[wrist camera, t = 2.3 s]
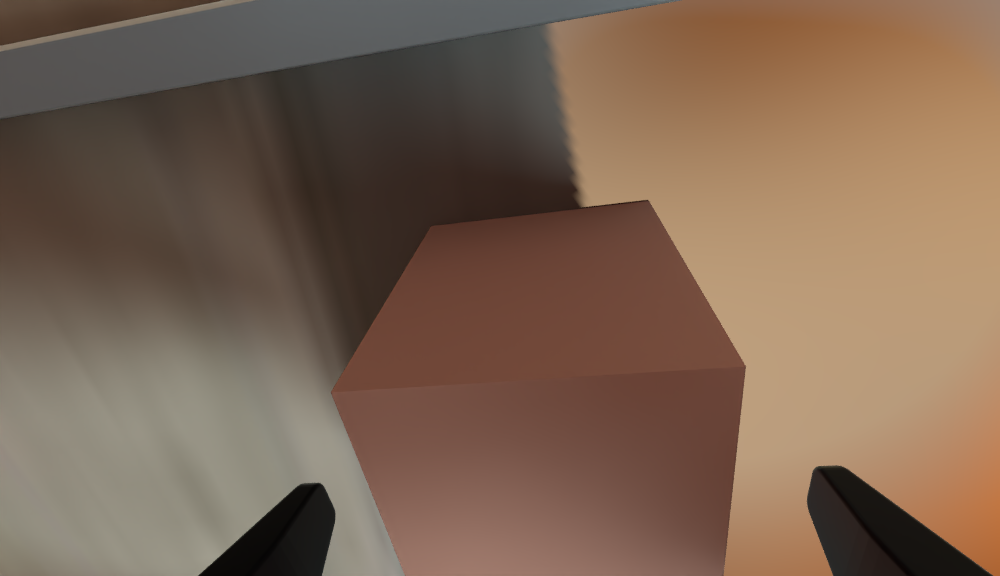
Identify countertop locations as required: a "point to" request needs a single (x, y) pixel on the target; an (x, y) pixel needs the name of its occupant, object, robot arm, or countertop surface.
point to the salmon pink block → (548, 402)
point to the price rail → (249, 43)
